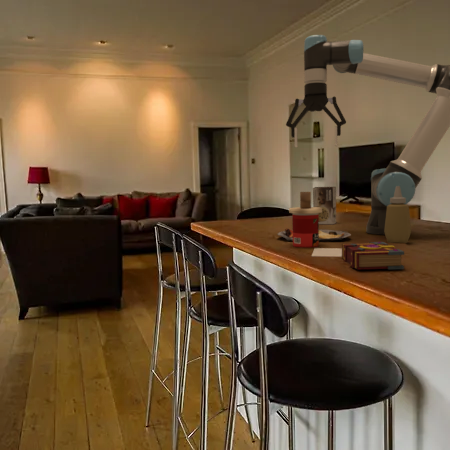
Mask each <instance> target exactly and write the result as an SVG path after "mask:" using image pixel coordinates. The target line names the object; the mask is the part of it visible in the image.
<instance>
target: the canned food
mask: <svg viewBox="0 0 450 450" xmlns="http://www.w3.org/2000/svg"><path fill="white" fill-rule="evenodd" d="M291 214H292V217H291V218H292V225H291V226H292V230H293V241H292V247H294V248H302V249H303V248H304V249H305V248H318V247H319V243H320V242H319V228H320V227H319V226H320V224H319V214H318V213H311V214H296V213H291Z"/></svg>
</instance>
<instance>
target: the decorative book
mask: <svg viewBox="0 0 450 450" xmlns="http://www.w3.org/2000/svg"><path fill="white" fill-rule="evenodd" d="M341 248H342V257H341V259H342V260H343V261H344V262H345V263H348V264H349V265H350V268H352V269H356V270H357V271H358V270H381V269H382V270H404V269H405V265H403V264H402V256H403V255H405V251H404V250H402V249H399V248H396V247H395V245H389V243H388V242H387V243H386V242H384V241H373V242H371V241H370V242H364V243H362V242H360V243H359V242H358V243H356V242H355V243H341Z"/></svg>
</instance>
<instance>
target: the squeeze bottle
mask: <svg viewBox="0 0 450 450" xmlns="http://www.w3.org/2000/svg"><path fill="white" fill-rule="evenodd" d="M390 203H392V204H390V205H388V206H387V211H386V220H385V229H384V232H385V238H386V242H387V244H399V243H400V244H408V242H409V239H410V236H411V234H412V227H411V216H410V206H409V205H408V204H404V203H406V198H403V197H402V194H401V189H400V186H396V188H395V193H394V197H393V198H390Z"/></svg>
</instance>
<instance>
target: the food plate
mask: <svg viewBox="0 0 450 450" xmlns="http://www.w3.org/2000/svg"><path fill="white" fill-rule="evenodd" d="M276 235H277V236H280V237H283V238H284V239H285V240H286V241H289V242H293V229H289V228H286V229H284V230H282V231H278V233H276ZM350 236H352V234H351V233H349V231H344V230H334V229H319V243H325V242H328V241H329V242H333V241H338V240H339V241H342V240H343V239H344V238H347V237H350Z"/></svg>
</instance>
